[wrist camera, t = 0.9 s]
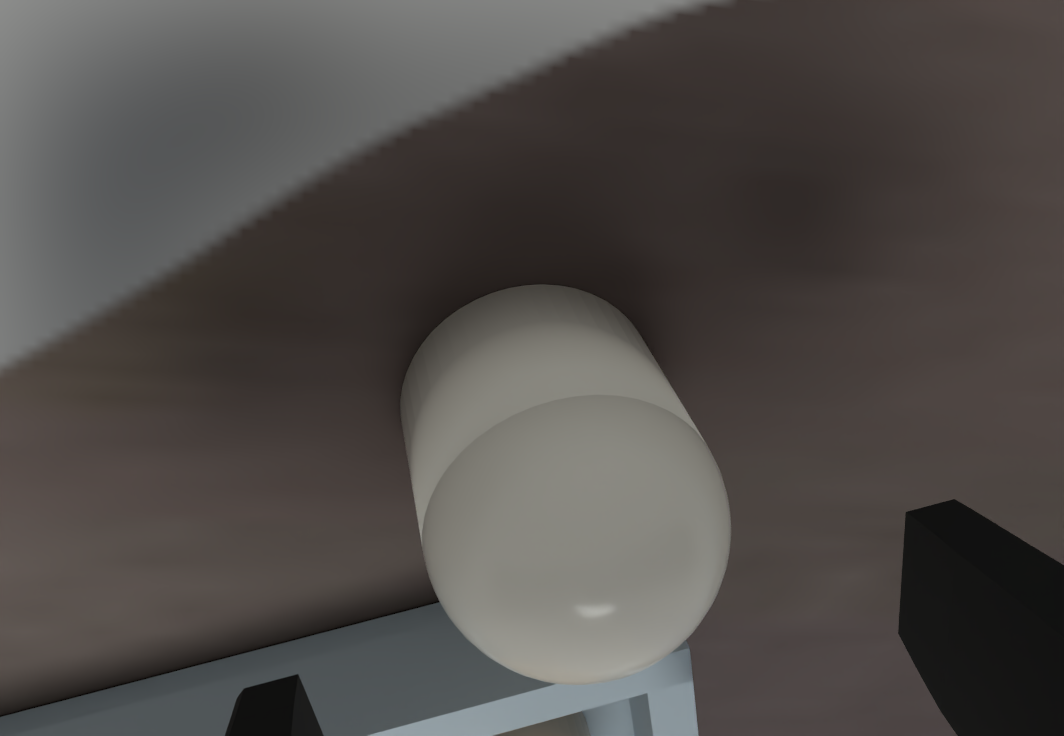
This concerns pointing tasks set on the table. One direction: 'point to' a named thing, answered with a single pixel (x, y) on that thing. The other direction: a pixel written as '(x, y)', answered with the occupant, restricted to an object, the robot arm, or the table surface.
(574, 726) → the brown egg
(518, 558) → the cream egg
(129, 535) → the table surface
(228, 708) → the egg carton
